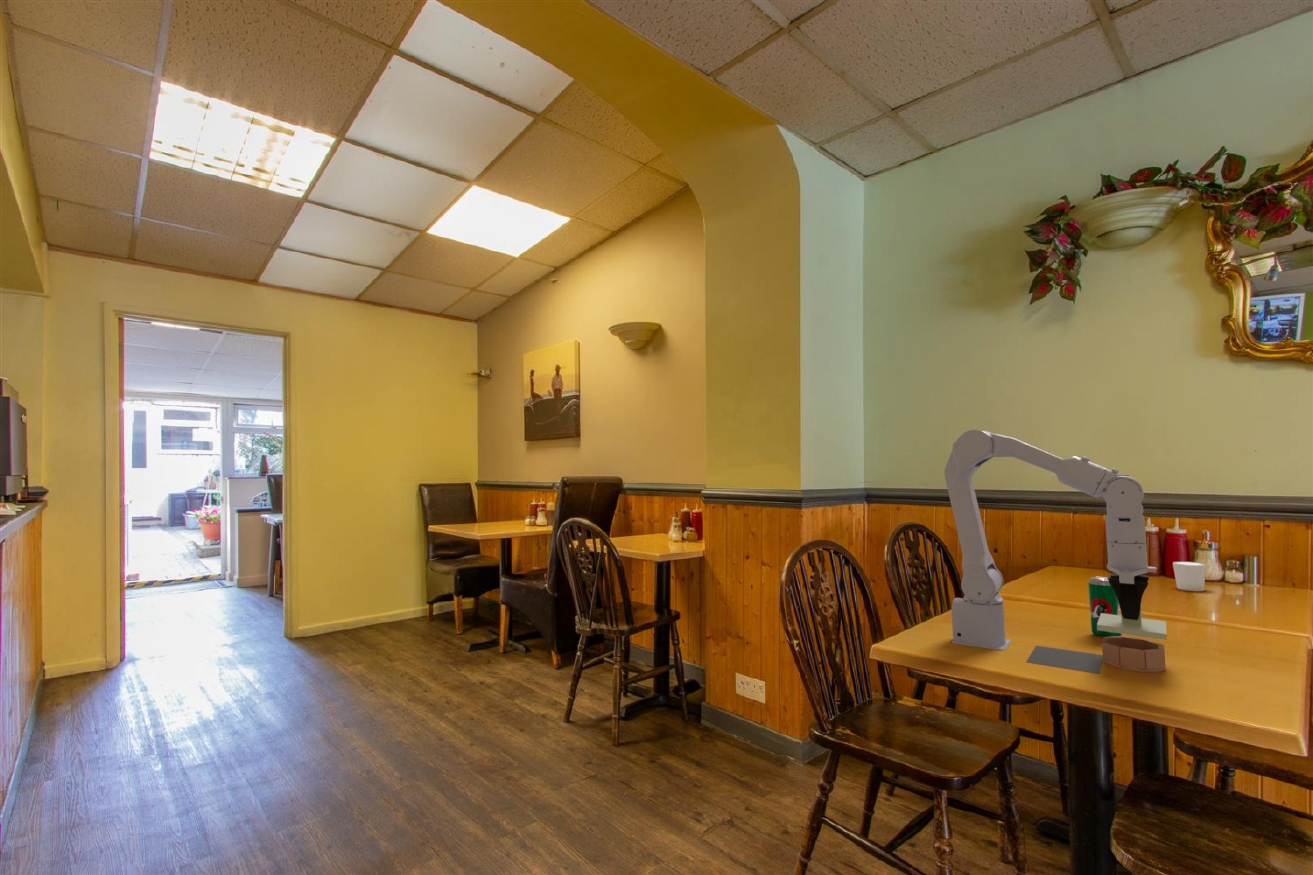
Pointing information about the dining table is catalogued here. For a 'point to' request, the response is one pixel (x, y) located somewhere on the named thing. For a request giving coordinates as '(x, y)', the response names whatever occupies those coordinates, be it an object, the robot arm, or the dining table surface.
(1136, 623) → the cover
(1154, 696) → the dining table surface
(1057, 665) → the mat
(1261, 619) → the dining table surface
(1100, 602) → the soda can
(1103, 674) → the dining table surface
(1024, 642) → the dining table surface
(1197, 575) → the white cup
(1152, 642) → the bowl
